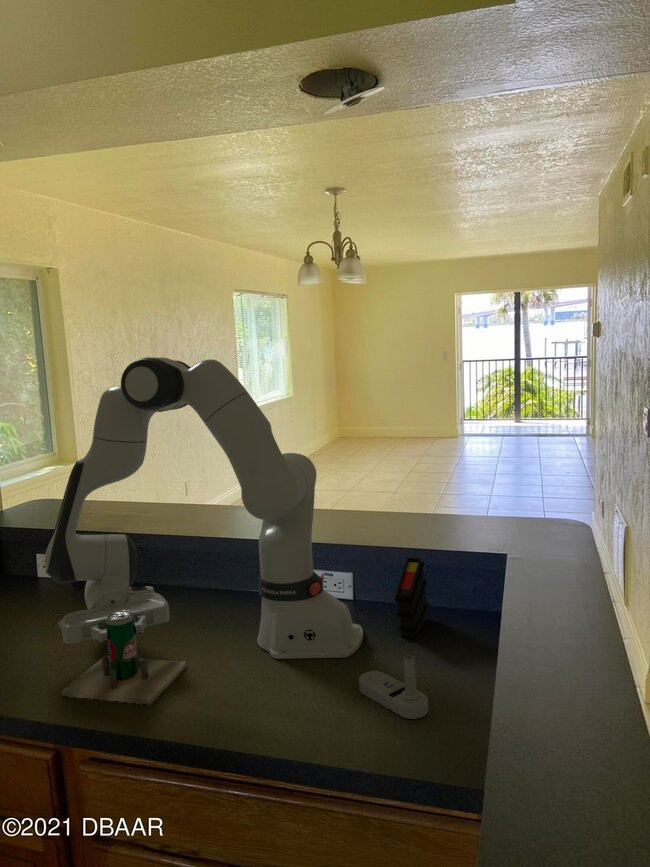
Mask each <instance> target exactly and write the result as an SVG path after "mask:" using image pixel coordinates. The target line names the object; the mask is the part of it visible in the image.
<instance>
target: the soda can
mask: <svg viewBox="0 0 650 867" xmlns="http://www.w3.org/2000/svg"><path fill="white" fill-rule="evenodd" d="M107 618H108V619H107V621H106V629H107V634H108V636H107V637H108V641H107V646H108V647H107V649H108V656H109V660H110V669H112V668H113V669H115V670H116V679H117V680H126V679H130V678H132V677H134V676H135V675H136V674H137V672H138V670H139V669H138V658H137V648H138V647H137V637H136V636H137V634H136V633H135V624H134V617H133V616H132V615H131V612H130V611H126V610H122V611H116V612H113V613H111V614H109V615H108V617H107Z"/></svg>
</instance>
